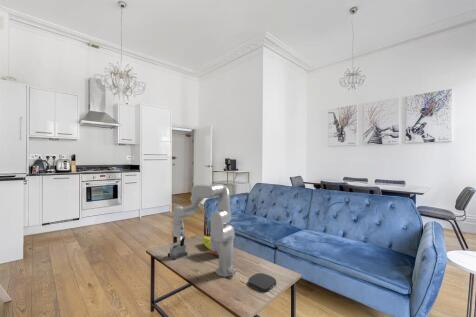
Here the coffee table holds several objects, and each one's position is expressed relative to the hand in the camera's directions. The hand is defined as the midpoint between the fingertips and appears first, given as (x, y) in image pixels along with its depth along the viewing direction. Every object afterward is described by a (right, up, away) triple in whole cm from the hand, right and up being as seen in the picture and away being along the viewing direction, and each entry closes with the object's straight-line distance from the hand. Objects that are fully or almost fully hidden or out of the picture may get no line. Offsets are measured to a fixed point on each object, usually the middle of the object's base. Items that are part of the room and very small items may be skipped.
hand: (178, 244), depth 171 cm
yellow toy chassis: (+21, -10, +19) cm, 30 cm away
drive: (-1, -8, 0) cm, 8 cm away
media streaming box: (+62, -11, -36) cm, 72 cm away
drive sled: (-1, -9, 0) cm, 9 cm away
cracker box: (+31, -10, +4) cm, 33 cm away
